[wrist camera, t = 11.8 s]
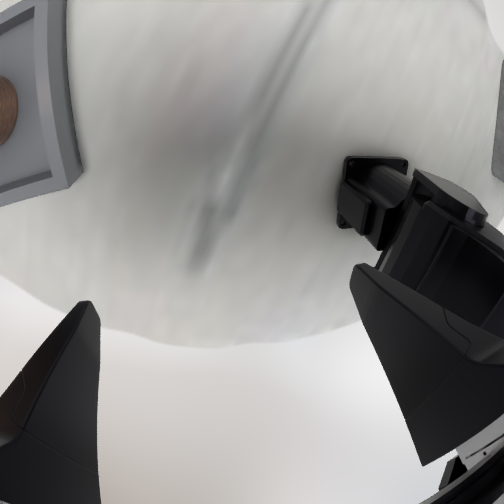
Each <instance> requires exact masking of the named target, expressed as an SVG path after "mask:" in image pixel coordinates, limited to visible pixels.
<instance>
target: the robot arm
mask: <svg viewBox="0 0 504 504" xmlns="http://www.w3.org/2000/svg"><path fill="white" fill-rule="evenodd" d="M351 161H353V162H352V164H351V165H350V164H349V163H350V162H351ZM403 162H404V163H403ZM402 163H403V165H402ZM407 169H408V161H407V160H406V159H404V158H395V157H371V156H348V157H347V158H346V159H345V162H344V170H343V179H342V182H341V184H340V192H339V200H338V207H337V210H338V216H337V225H338V227H339V228H341V229H346V228H354V229H355V230H356V231H357V232H358V233H359V234H360V236H365V237H366V238H367V239H368V241H369V242H370V243H371V244H372V245H373V246H374V247H375V249H376V250H377V251H382V250H383V251H382V253H381V255H380V258H379V260H378V262H377V264H376V266H375V267H371V266H370V265H368V264H366V263H362V264H357V265H355V266H354V267H353V271H352V275H351V279H350V290H351V293H352V295H353V298H354V301H355V303H356V306H357V309H358V312H359V315H360V317H361V320H362V323H363V325H364V327H365V329H366V332H367V333H368V336H369V338H370V340H371V342H372V344H373V346H374V348H375V351H376V353H377V355H378V357H379V360H380V362H381V364H382V366H383V369H384V371H385V373H386V375H387V377H388V380H389V382H390V385H391V387H392V389H393V392H394V394H395V396H396V399H397V401H398V403H399V406H400V408H401V411H402V413H403V416H404V419H405V422H406V424H407V427H408V429H409V431H410V434H411V437H412V440H413V442H414V445H415V448H416V451H417V453H418V456H419V459H420V462H421V464H422V466H425V465H427V464H429V463H431V462H433V461H435V460H436V459H438V458H440V457H442V456H443V455H445V454H447V453H448V452H450V451H452V450H453V449H455V448H456V451H457V453H458V455H457V456H455V457H454V458H453V459H451V460H450V461H448V462H447V465H446V468H445V472H444V474H443V477H442V480H441V483H440V486H439V492H437V493H436V494H434V495H433V496H431V497H430V498H428V499H426V500H425V501H423V502H421V503H420V504H504V235H503V234H502V233H501V232H500V231H498V230H497V229H496V228H494V227H493V226H492V225H490V224H489V223H488V222H486V219H487V217H488V213H487V212H486V211H485V209H484V208H483V207H482V205H481V204H480V203H479V201H478V200H477V199H476V198H475V196H474V195H472V194H471V193H469V192H467V191H466V190H464V189H463V188H461V187H459V186H458V185H456V184H454V183H453V182H450V181H448V180H445V179H443V178H440V177H438V176H435V175H433V174H430V173H427V172H425V171H422V170H419V169H416V168H415V170H414V173H413V176H414V177H413V180H412V179H410V178H409V177H407V176H406V174H407ZM343 221H344V223H343V224H341V223H342V222H343ZM100 327H101V323H100V318H99V316H98V314H97V312H96V310H95V308H94V306H93V304H92V302H91V301H89V300H87V301H80V302H78V303H77V304H76V306H75V307H74V308H73V309H72V310H71V311H70V312H69V313H68V314H67V316H66V317H65V318H64V319H63V320H62V321H61V322H60V323H59V325H58V326H57V327H56V328H55V329H54V331H53V332H52V333H51V334H50V335H49V336H48V338H47V339H46V340H45V341H44V342H43V344H42V345H41V346H40V347H39V348H38V350H37V351H36V352H35V353H34V355H33V356H32V357H31V359H30V360H29V361H28V362H27V364H26V365H25V366H24V367H23V369H22V371H20V372H19V374H18V375H17V376H16V378H15V379H14V380H13V382H12V383H11V384H10V386H9V387H8V388H7V389H6V391H5V392H4V393H3V394H2V395H1V397H0V504H101V498H100V487H99V476H98V459H97V404H98V403H97V402H98V385H99V372H100Z"/></svg>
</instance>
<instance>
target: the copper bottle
mask: <svg viewBox="0 0 504 504" xmlns="http://www.w3.org/2000/svg"><path fill="white" fill-rule="evenodd" d="M17 113H18V101H17V95H16V91H15V89H14V87H13V85H12V83H11V82H10V81H9V80H8V79H7V78H5V77H3V76H0V146H2V145H3V144H4V143H5V142H6V141H7V140H8V138H9V137H10V135H11V133H12V131H13V129H14V126H15V123H16V119H17Z"/></svg>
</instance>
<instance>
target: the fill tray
mask: <svg viewBox="0 0 504 504" xmlns="http://www.w3.org/2000/svg"><path fill="white" fill-rule="evenodd" d="M66 1H67V0H22V1H20V2H18V3H17V4H15V5H13V6H11V7H9V8H8V9H6V10H4V11H3V12H1V13H0V76H3V77H5V78H7V79H8V80H9V81H10V82H11V83H12V85H13V87H14V89H15V91H16V95H17V101H18V113H17V119H16V123H15V126H14V129H13V131H12V133H11V135H10V137H9V138H8V140H7V141H6V142H5V143H4V144H3V145H2V146H0V207H2V206H5V205H8V204H12V203H15V202H18V201H22V200H25V199H29V198H32V197H36V196H40V195H44V194H47V193H51V192H55V191H59V190H63V189H68V188H69V187H70V186H71V185H72V184H73V183H74V182H75V181H76V180H77V179H78V178H79V176H80V175H81V174H82V173H83V169H82V165H81V160H80V155H79V150H78V145H77V140H76V134H75V128H74V122H73V116H72V109H71V101H70V92H69V83H68V71H67V55H66Z"/></svg>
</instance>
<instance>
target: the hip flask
mask: <svg viewBox="0 0 504 504" xmlns="http://www.w3.org/2000/svg"><path fill="white" fill-rule="evenodd" d="M491 170H492V174H493V175H494V176H495V177H497V178H498V179H500V180H501V181H503V182H504V61H503V63H502V72H501V81H500V91H499V101H498V111H497V120H496V129H495V139H494V148H493V157H492V168H491Z"/></svg>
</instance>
